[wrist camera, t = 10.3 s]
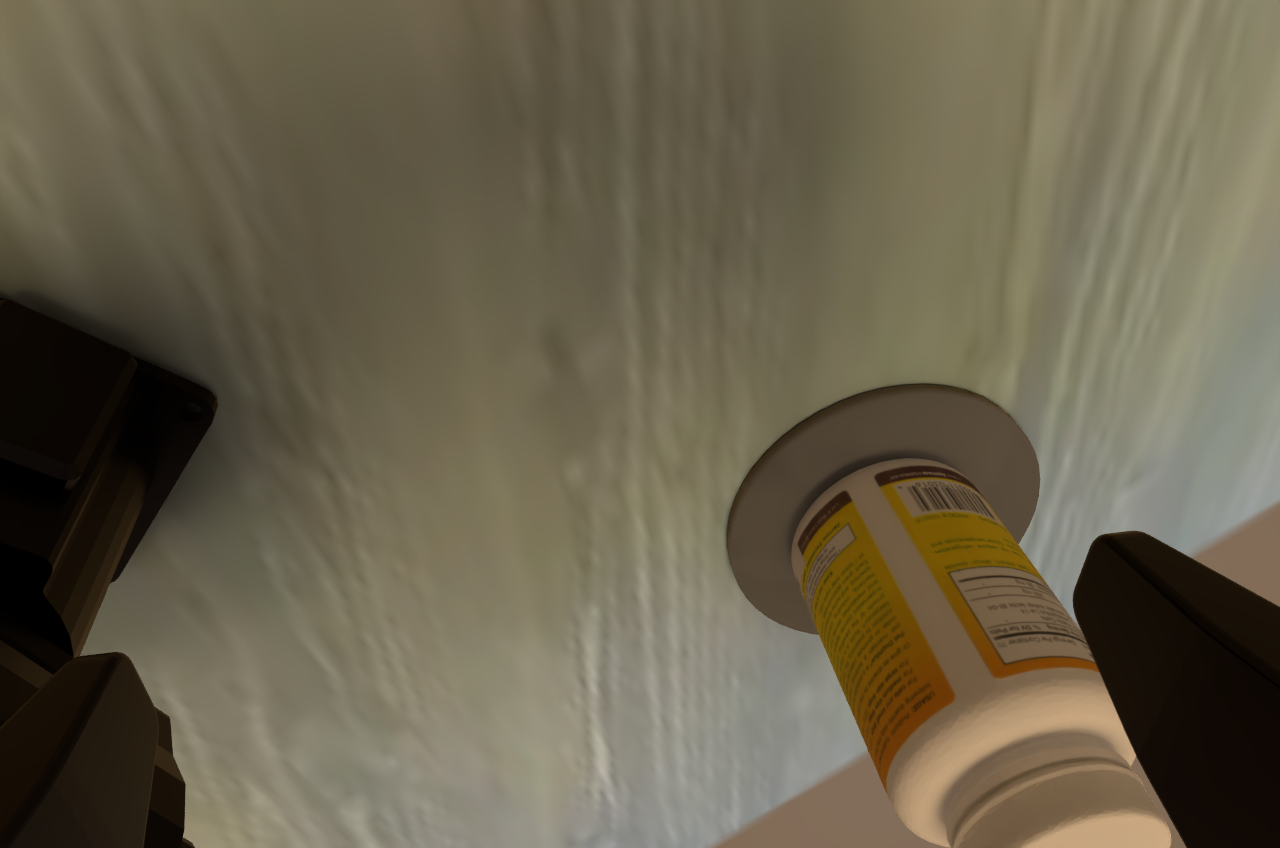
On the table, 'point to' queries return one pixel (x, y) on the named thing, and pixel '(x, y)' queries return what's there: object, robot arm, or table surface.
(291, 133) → the table surface
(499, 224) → the table surface
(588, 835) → the table surface
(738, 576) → the slate coaster
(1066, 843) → the supplement bottle
